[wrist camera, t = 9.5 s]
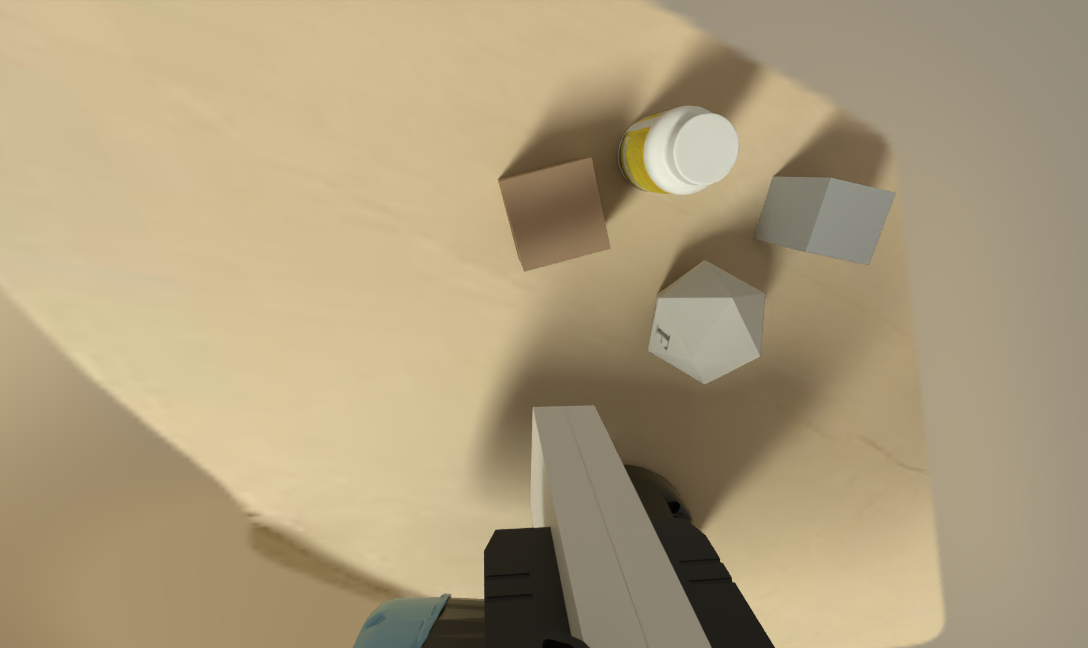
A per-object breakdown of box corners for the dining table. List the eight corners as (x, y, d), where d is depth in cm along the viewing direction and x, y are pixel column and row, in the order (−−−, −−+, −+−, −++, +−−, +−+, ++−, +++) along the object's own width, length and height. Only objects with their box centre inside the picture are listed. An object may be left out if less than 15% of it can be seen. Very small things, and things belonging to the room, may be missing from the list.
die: (674, 236, 41) (640, 295, 34) (786, 261, 38) (774, 332, 31) (657, 316, 46) (624, 383, 39) (755, 344, 43) (739, 421, 36)
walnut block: (592, 237, 40) (610, 248, 34) (518, 256, 40) (524, 271, 34) (575, 159, 38) (591, 157, 32) (497, 179, 38) (500, 181, 32)
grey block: (807, 250, 42) (868, 265, 35) (753, 239, 41) (805, 252, 35) (828, 189, 41) (895, 192, 34) (772, 176, 40) (830, 177, 33)
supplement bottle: (647, 206, 39) (699, 217, 30) (602, 153, 38) (641, 147, 29) (699, 155, 39) (768, 150, 29) (655, 99, 37) (713, 75, 28)
